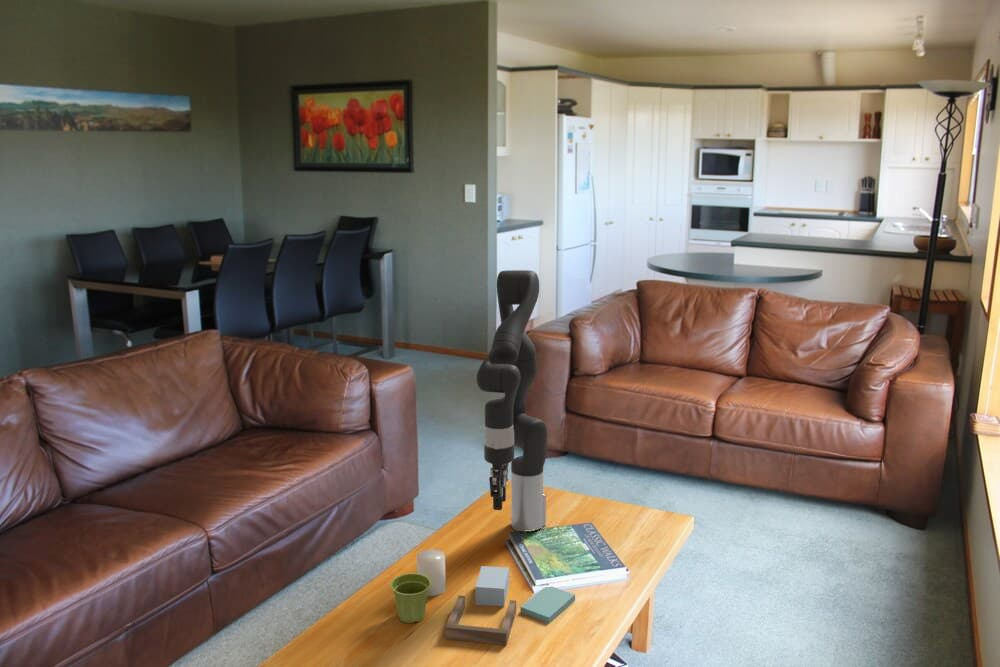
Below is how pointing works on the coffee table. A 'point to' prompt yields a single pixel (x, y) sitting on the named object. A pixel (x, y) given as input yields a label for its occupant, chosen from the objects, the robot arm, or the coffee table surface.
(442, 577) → the white capsule shape
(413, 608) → the plant pot
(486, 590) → the carton
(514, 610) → the display bay
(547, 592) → the green flat block
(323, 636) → the coffee table surface
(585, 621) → the coffee table surface
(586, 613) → the coffee table surface
